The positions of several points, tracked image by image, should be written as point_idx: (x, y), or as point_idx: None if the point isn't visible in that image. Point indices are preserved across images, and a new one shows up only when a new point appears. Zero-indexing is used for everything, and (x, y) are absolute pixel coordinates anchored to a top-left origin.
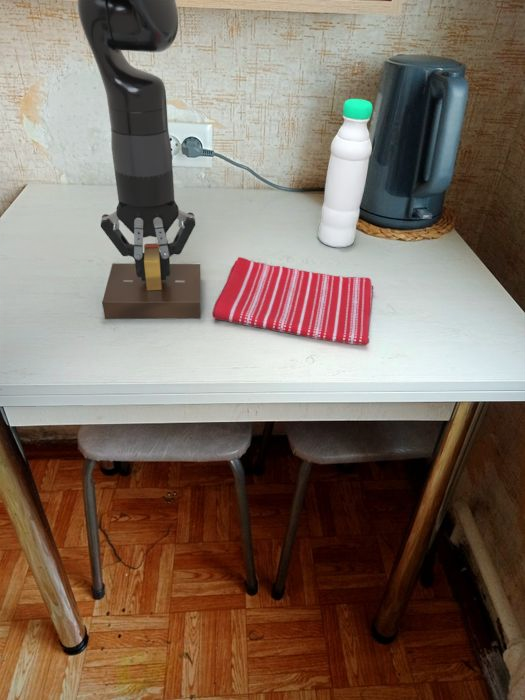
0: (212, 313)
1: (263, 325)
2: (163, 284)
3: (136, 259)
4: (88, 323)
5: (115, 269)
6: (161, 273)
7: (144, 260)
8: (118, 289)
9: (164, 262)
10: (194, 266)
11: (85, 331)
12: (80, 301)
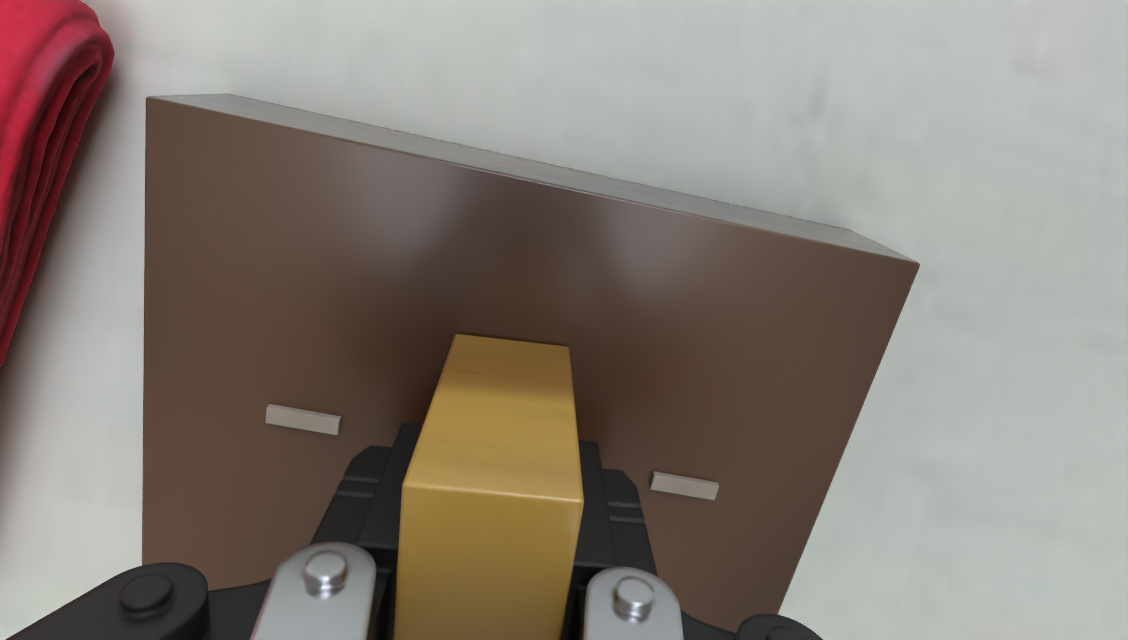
0: (92, 33)
1: None
2: None
3: (650, 573)
4: (955, 206)
5: None
6: None
7: (577, 515)
8: (769, 403)
9: (365, 519)
10: None
11: (995, 122)
12: (943, 436)
